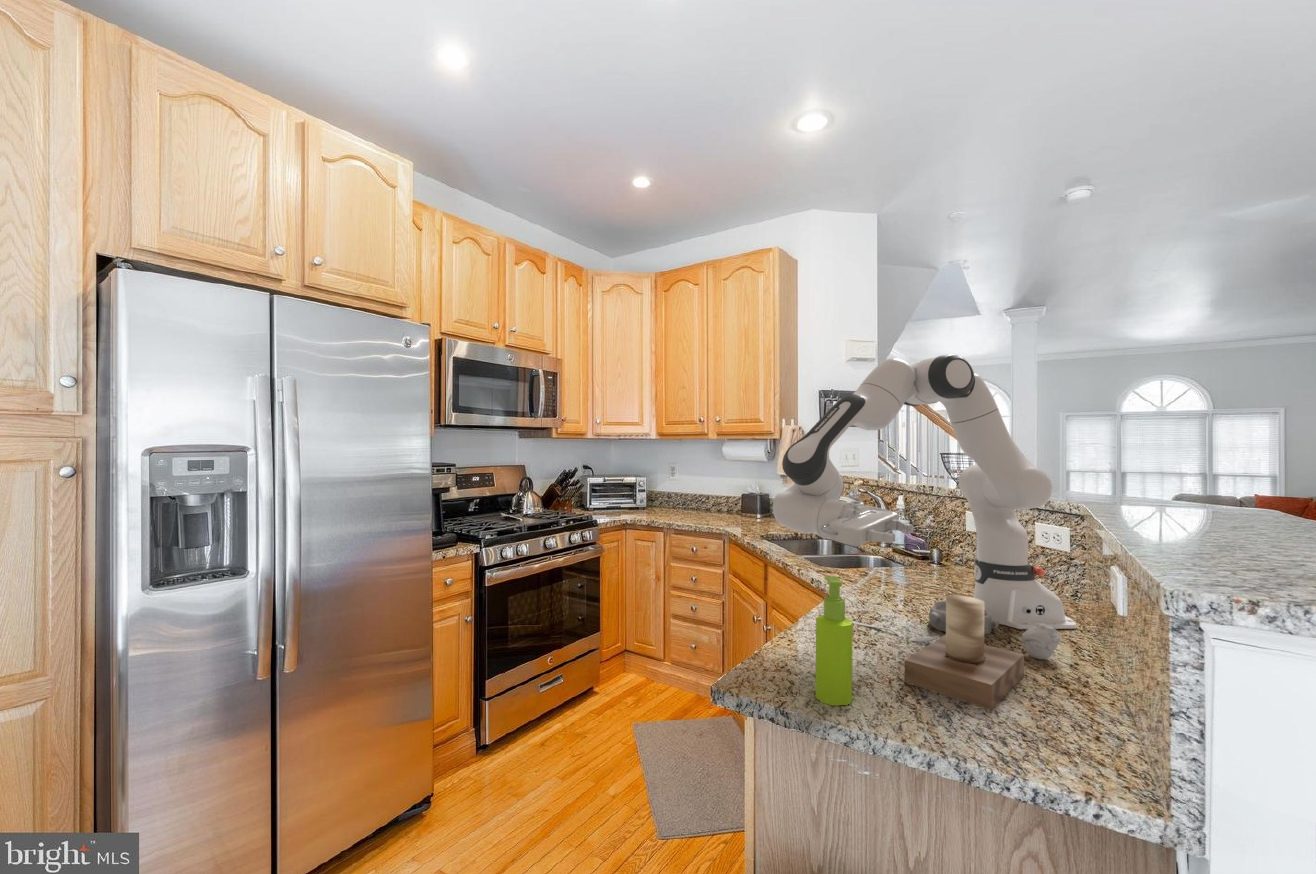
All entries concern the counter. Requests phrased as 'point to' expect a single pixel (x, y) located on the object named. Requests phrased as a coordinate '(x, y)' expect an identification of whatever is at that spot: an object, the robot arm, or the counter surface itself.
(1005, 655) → the walnut board
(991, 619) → the dish
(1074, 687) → the counter surface
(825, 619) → the soap dispenser
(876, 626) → the fork
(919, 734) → the counter surface
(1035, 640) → the frog figurine
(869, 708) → the counter surface
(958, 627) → the maple leg
